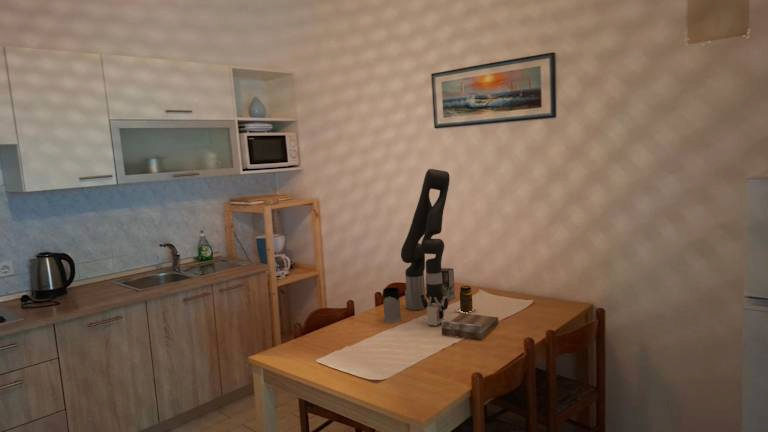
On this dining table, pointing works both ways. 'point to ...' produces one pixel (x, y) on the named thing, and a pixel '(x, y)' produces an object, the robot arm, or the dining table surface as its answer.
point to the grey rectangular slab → (469, 326)
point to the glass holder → (391, 305)
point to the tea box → (433, 315)
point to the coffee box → (448, 282)
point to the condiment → (465, 299)
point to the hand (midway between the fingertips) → (435, 317)
